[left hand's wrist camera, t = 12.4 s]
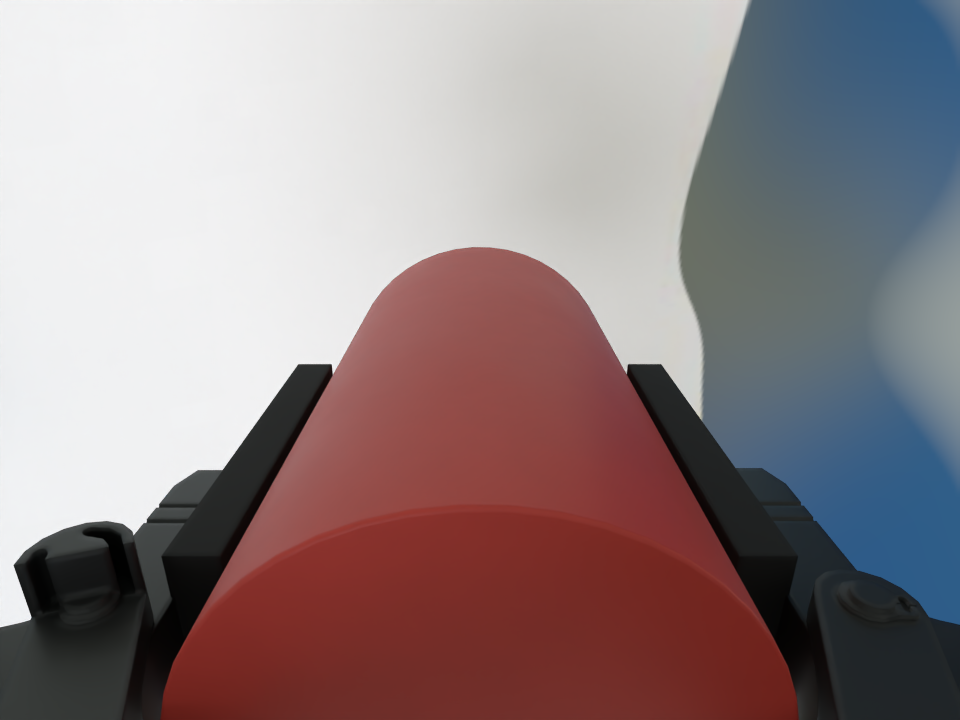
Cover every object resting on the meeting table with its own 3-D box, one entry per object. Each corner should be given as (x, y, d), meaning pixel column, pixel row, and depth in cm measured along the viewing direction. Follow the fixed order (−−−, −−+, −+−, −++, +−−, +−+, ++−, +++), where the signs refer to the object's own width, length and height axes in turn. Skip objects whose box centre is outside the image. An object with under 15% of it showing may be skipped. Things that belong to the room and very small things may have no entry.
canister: (356, 237, 15) (113, 483, 5) (622, 256, 16) (891, 533, 5) (355, 468, 18) (191, 942, 8) (585, 483, 18) (722, 965, 8)
